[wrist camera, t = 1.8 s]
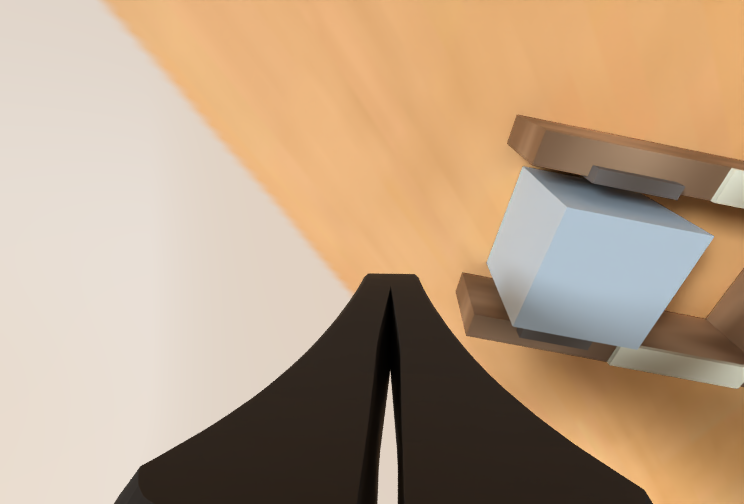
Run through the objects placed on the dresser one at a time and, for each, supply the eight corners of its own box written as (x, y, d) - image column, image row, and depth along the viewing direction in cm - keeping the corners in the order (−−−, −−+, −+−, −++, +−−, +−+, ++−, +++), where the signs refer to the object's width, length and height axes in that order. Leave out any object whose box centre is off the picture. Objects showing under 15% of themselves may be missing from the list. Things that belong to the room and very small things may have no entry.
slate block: (632, 187, 17) (714, 236, 13) (582, 281, 19) (637, 349, 15) (522, 166, 17) (567, 207, 12) (486, 262, 19) (512, 326, 15)
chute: (840, 180, 16) (963, 216, 13) (713, 340, 20) (779, 400, 17) (516, 114, 16) (550, 132, 12) (455, 291, 20) (467, 343, 16)
